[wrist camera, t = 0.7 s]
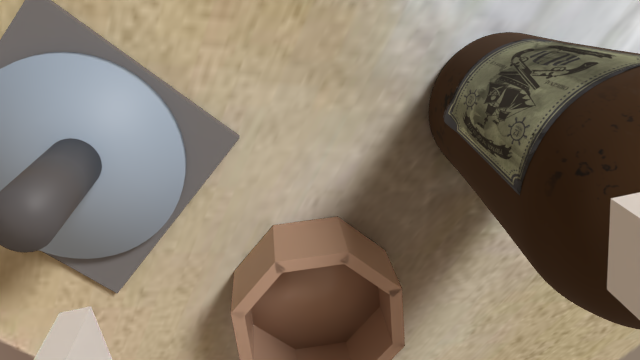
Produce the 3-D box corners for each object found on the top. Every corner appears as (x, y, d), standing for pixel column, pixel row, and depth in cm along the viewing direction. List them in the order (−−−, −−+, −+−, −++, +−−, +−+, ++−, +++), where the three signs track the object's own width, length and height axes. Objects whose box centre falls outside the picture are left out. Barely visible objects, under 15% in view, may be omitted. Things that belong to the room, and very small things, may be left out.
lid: (-75, 177, 33) (-186, 249, 25) (35, 3, 30) (-50, 18, 22) (114, 284, 37) (73, 377, 29) (227, 139, 34) (218, 196, 26)
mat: (-81, 175, 34) (-87, 179, 33) (35, -11, 31) (31, -11, 30) (119, 288, 38) (117, 293, 37) (239, 135, 35) (239, 138, 34)
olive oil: (604, 102, 37) (1194, 338, 14) (484, 208, 39) (818, 571, 16) (511, -17, 33) (1090, 30, 10) (384, 107, 35) (624, 382, 12)
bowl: (207, 302, 39) (200, 347, 35) (301, 190, 37) (307, 223, 32) (323, 370, 43) (331, 420, 38) (416, 272, 40) (437, 312, 35)
